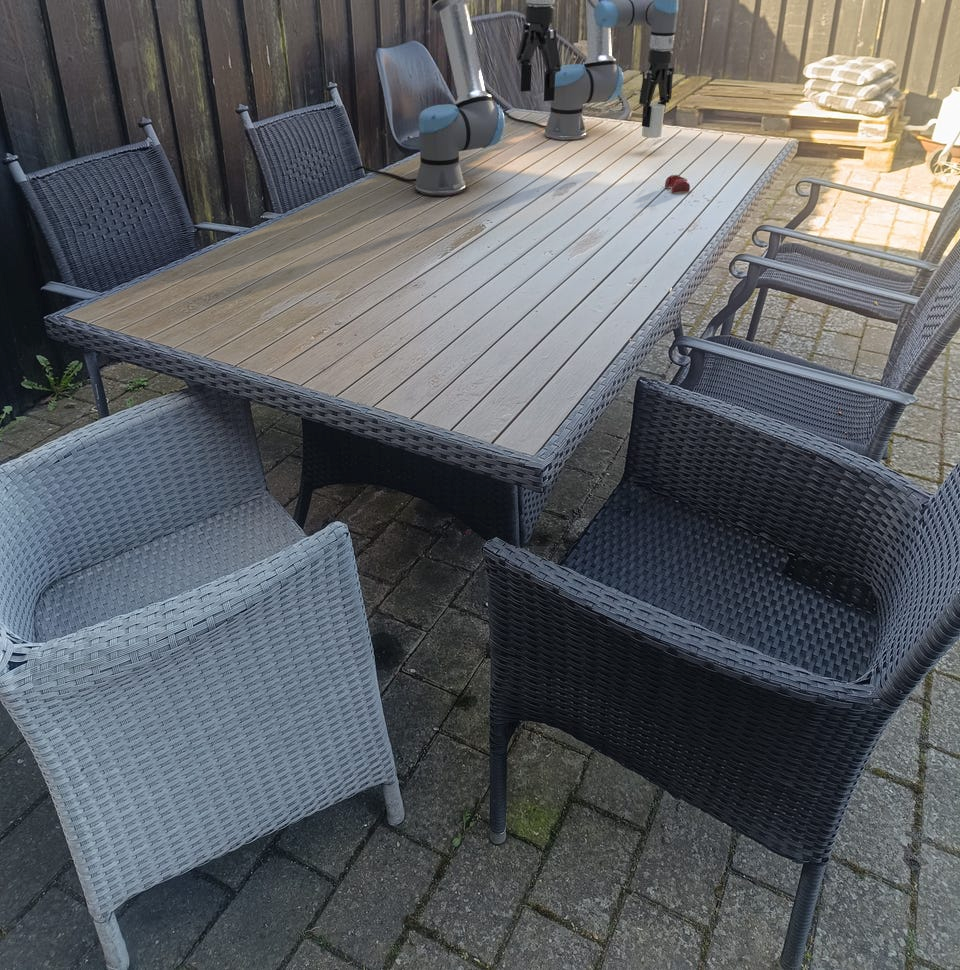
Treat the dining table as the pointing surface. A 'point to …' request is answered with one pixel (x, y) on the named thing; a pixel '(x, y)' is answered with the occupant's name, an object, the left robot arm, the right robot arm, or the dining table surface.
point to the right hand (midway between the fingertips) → (652, 124)
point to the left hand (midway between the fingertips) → (537, 95)
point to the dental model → (677, 183)
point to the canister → (654, 122)
